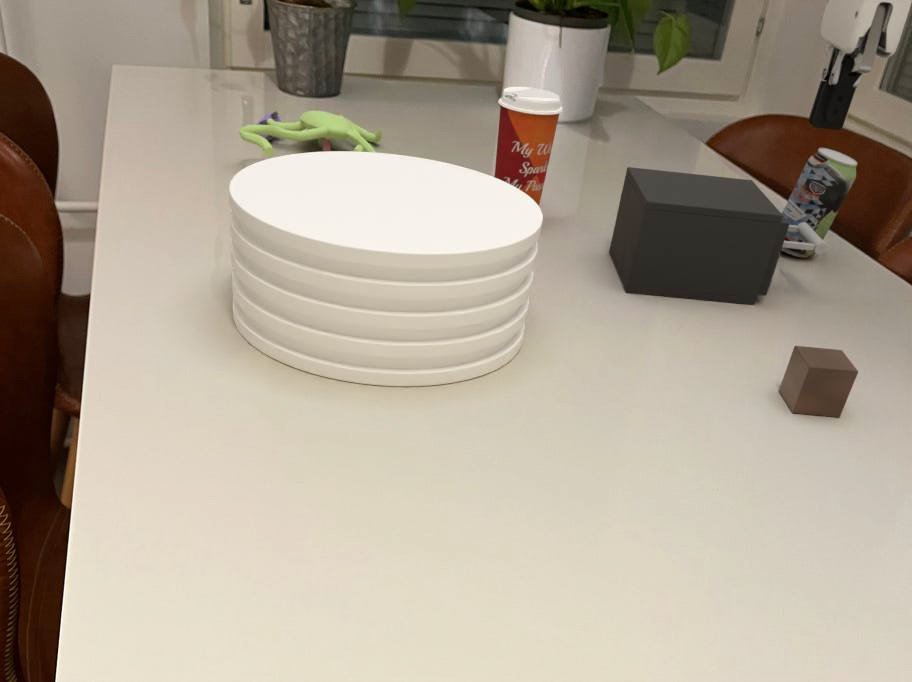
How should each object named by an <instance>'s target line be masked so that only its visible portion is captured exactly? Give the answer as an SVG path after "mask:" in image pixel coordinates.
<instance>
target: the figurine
mask: <svg viewBox="0 0 912 682" xmlns="http://www.w3.org/2000/svg"><path fill="white" fill-rule="evenodd" d="M299 119H300V120H299V121H297V122H282V121H281V117H280V116H279V112H278V110H276V111H274V112H269V113H267V114H265V115H264V116H263V117H262V118H261V119H260V120H259V121H258V122H257V123H256V124H248V125H244V126H242V127H241V128H240V129H239V130H238V133H239V137H240V139H242V140H243V141H244V142H247V143H250V144H252V145H256V146H258V147H259V148H261V149H262V151H263V152H264V155H265V156H266V157H267V158H273V156H274V155H275V150H274V148H273V146H272V145H271V143H270V142H269V141H271V140H272V139H273V137H277V138H280V139H282V140H287V141H292V142H293V141H294V142H305V141H316V140H317V143H318V148H319V149H320V148H322V151H323V152H326V151H331V143H333V142H334V141H336V140H338V141H339V140H340V141H345V140H350V141H351V142H353V143H354V144H356V145H355V147H354V148H353V150H352V151H356V152H375V153H377V151H376V150H375V149H374V148H373V147H372V145H371V144H370V143H373V144H376V143H379V142H381V140H382V134H383V133H382V131H381V130H380V129H377V130H376V131H375V133H372V132H369V131H367V129H365V128H363V127H360V126H358V125H357V124H356V123H354V122H353V121H351V120H349V119H348V118H346V117H344V115H342V114H338V115H337V114H334V113H331V112H329V111H323V110H307V111H304V112H303V113H302V114H301V115H300V118H299Z"/></svg>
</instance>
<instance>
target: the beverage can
mask: <svg viewBox="0 0 912 682" xmlns="http://www.w3.org/2000/svg"><path fill="white" fill-rule="evenodd" d="M857 166H858V162H857V160H855V159H854V158H852V157H850V156H849V155H847V154H844V153H842V152H840V151H837V150H834V149H831V148H826V147H819V148H818V149H817V151H816V152H815V153H814V154H812V155H811V156H810V157H808V159H807V160H806V163H805V164H804V167H803V168H802V171H801V173H800V176H799V177H798V179H797V181H796V184H795V186H794V188H793V190H792V192H791V194H790V195H789V198H788V199H787V202H786V204H785V206H784V208H783V211H782V212H781V214H782V215H783V217H784V218H785V219H786V220H787V221H788V222H789V223H790V225H796V226H798V225H799V224H800V223H802V222H806V223H807V224H808V225H809V226H810V227H811V228H812V229H813V230H814V231H815V232H816V234H817V235H818V236H819V237H820V238H821V239H822V240H823V241H824V239H825V237H826V235H827V234H828V232H829V231H830V229H831V226H832V224H833V222H834V220H836V219H835V218H836V217H837V215H838V213H839V211H840V209H841V207H842V205H843V204H844V201H845V199H846V197H847V195H848V194H849V192H850V190H851V188H852V185H853V184H854V182H855V181H856V178H857ZM784 241H792V242H802V243H805V241H804V240H803V239H802V238H801V237H800V236H799V235H798V234H797V232H788V231H787V234H786V237H785V240H784ZM781 252H784V253H786V254H788V255H791V256H793V257H796V258H797V257H798V258H808V257H809V256H815V255H816V254H815V253H814V252H813V251H812V250H802V249H792V248H782V249H781Z"/></svg>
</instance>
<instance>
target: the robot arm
mask: <svg viewBox="0 0 912 682" xmlns="http://www.w3.org/2000/svg"><path fill="white" fill-rule="evenodd" d="M911 6H912V0H827V2H826V5H825V9H824V12H823V16H822V20H821V24H820V27H819V28H820V29H819V30H820V31H819V32H820V35H821V37H822V39H823V40H824V41H825V45H824V53H825V55H826V57H825V61H824V64H823V68H822V72H821V77H820V78H821V80H820V82H819V86H818V89H817V92H816V95H815V97H814V102H813V104H812V108H811V111H810V114H809V117H808V123H809V124H810V125H811V126H812V127H814V128H816V129H826V130H834V131H839V130H842V129H843V127H844V125H845V123H846V119H847V116H848V113H849V110H850V107H851V104H852V101H853V99H854V95H855V92H856V89H857V88H858V87H859V85H860V82H861V80H862V78H863V75H864V74H867V73H870V72H871V71H872V70H873V66H874V63H875V60H876V55H877V56H878V57H880V58H882V59H889V58H891V57H892V56H893V55H894V54H895V53H896V51H897V49H898V46H899V44H900V41H901V38H902V34H903V32H904V28H905V25H906V21H907V18H908V16H909V12H910V9H911Z"/></svg>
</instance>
